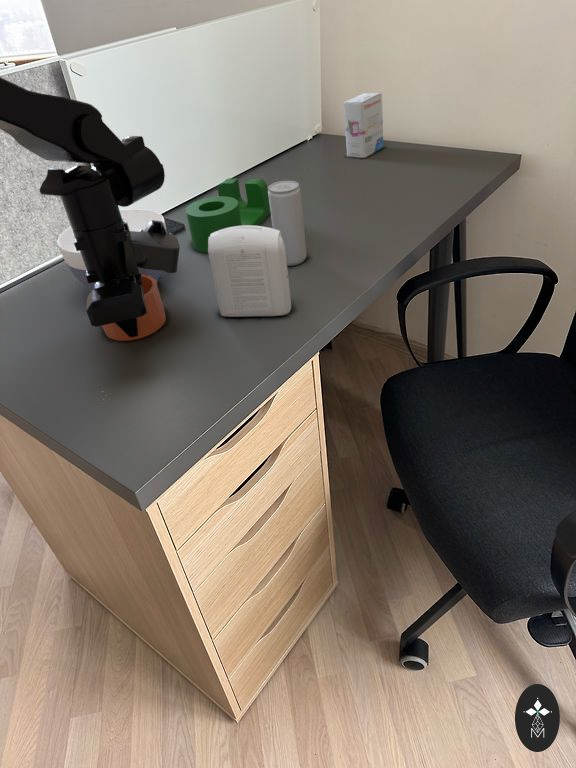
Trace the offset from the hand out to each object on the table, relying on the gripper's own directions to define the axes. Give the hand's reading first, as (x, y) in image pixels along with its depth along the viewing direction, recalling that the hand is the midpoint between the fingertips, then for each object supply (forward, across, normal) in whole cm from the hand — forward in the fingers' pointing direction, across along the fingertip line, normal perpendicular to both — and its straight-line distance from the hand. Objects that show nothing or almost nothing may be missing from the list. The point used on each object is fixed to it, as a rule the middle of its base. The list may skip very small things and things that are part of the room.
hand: (134, 336), depth 75 cm
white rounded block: (+2, +2, -17) cm, 17 cm away
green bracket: (+1, +32, -18) cm, 37 cm away
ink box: (+1, +62, -56) cm, 83 cm away
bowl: (+2, +19, 0) cm, 19 cm away
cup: (+2, +6, 0) cm, 7 cm away
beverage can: (+2, +15, -26) cm, 30 cm away
